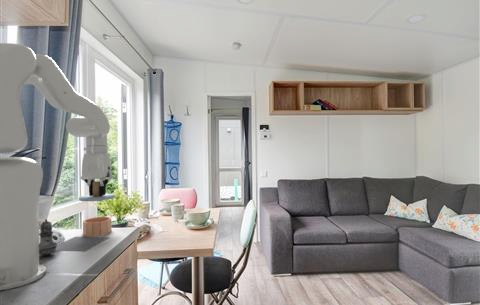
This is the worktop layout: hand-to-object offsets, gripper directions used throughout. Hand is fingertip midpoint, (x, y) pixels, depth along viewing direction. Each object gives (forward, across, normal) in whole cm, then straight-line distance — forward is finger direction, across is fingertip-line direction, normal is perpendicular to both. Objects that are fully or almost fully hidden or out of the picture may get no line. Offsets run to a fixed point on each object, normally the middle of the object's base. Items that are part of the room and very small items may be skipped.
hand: (97, 195), depth 107 cm
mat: (+15, +2, -13) cm, 20 cm away
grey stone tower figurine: (+16, -1, -24) cm, 29 cm away
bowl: (+15, 0, 0) cm, 15 cm away
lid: (+1, 0, 0) cm, 1 cm away
